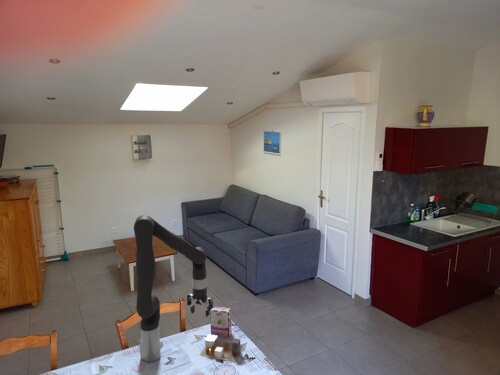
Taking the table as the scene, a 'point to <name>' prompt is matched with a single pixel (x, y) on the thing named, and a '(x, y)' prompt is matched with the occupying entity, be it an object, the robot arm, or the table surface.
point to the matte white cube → (219, 352)
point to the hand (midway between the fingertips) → (200, 314)
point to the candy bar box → (221, 321)
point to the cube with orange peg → (211, 343)
